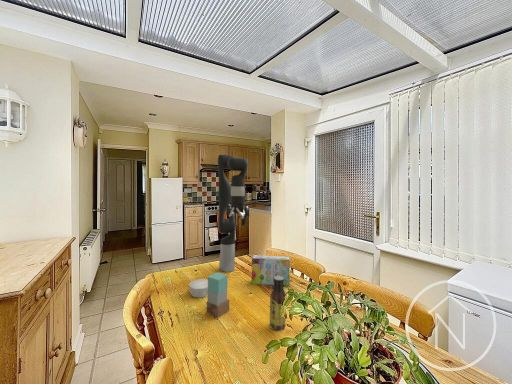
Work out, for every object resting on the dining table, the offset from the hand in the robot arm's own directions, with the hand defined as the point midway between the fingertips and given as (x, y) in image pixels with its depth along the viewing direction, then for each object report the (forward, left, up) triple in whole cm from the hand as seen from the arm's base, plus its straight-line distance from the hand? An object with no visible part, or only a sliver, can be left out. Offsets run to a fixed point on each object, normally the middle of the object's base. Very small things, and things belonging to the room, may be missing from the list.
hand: (237, 224), depth 125 cm
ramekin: (-9, -18, -34) cm, 40 cm away
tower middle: (+10, -24, -29) cm, 39 cm away
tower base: (+10, -24, -34) cm, 43 cm away
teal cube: (+10, -24, -24) cm, 35 cm away
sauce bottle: (+36, -17, -34) cm, 53 cm away
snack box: (+13, +14, -34) cm, 39 cm away
